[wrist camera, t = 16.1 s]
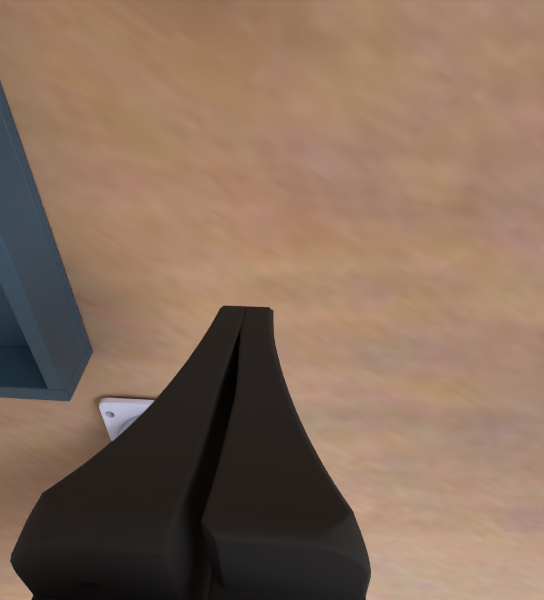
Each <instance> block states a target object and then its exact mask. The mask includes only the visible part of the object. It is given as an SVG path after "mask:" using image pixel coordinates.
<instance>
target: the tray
mask: <svg viewBox="0 0 544 600" xmlns="http://www.w3.org/2000/svg"><path fill="white" fill-rule="evenodd" d="M92 353H93V351H92V348H91V345H90V342H89V339H88V336H87V333H86V330H85V328H84V325H83V322H82V319H81V316H80V313H79V310H78V307H77V304H76V301H75V298H74V295H73V292H72V289H71V287H70V284H69V281H68V278H67V275H66V272H65V269H64V266H63V263H62V260H61V257H60V254H59V251H58V249H57V246H56V243H55V240H54V237H53V234H52V231H51V228H50V225H49V222H48V219H47V216H46V213H45V210H44V208H43V205H42V202H41V199H40V196H39V193H38V190H37V187H36V184H35V181H34V178H33V175H32V172H31V170H30V167H29V164H28V161H27V158H26V155H25V152H24V149H23V146H22V143H21V140H20V137H19V134H18V132H17V129H16V126H15V123H14V120H13V117H12V114H11V111H10V108H9V105H8V102H7V99H6V96H5V93H4V91H3V88H2V85H1V82H0V397H3V398H21V399H38V400H55V401H70V400H71V398H72V396H73V394H74V391H75V389H76V387H77V385H78V383H79V381H80V379H81V376H82V374H83V372H84V370H85V368H86V366H87V364H88V360H89V359H90V357H91V355H92Z"/></svg>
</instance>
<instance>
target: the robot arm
mask: <svg viewBox="0 0 544 600" xmlns="http://www.w3.org/2000/svg"><path fill="white" fill-rule="evenodd" d="M99 410H100V412H101V415H102V418H103V420H104V423H105V426H106V428H107V431H108V434H109V436H110V439H111V443H109V444H108V445H107V446H106V447H105V448H103V449H102V450H101V451H100V452H98V453H97V454H96V455H95V456H93V457H92V458H91V459H90V460H89V461H87V462H86V463H85V464H83V465H82V466H81V467H79V468H78V469H77V470H75V471H74V472H72V473H71V474H69V475H68V476H67V477H65V478H64V479H62V480H61V481H59V482H58V483H57V484H55V485H54V486H52V487H51V488H49V489H48V490H46V491H45V492H43V493H42V495H41V497H40V498H39V500H38V502H37V503H36V505H35V507H34V508H33V510H32V512H31V514H30V515H29V517H28V519H27V521H26V523H25V525H24V527H23V530H22V532H21V534H20V536H19V538H18V541H17V543H16V545H15V547H14V550H13V552H12V554H11V560H10V562H11V564H12V566H13V568H14V570H15V572H16V573H17V575H18V576H19V577H20V578H21V580H22V581H23V582H24V583H25V585H26V586H27V587H28V588H29V590H30V591H31V592H32V593H33V598H32V600H366V593H367V589H368V585H369V582H370V578H371V568H370V562H369V557H368V553H367V549H366V546H365V543H364V540H363V537H362V534H361V531H360V529H359V526H358V524H357V521H356V518H355V516H354V513H353V511H352V509H351V508H350V506H349V505H348V503H347V502H346V500H345V499H344V498H343V496H342V494H341V493H340V491H339V490H338V488H337V487H336V485H335V484H334V482H333V481H332V479H331V477H330V476H329V474H328V472H327V471H326V469H325V467H324V466H323V464H322V462H321V460H320V458H319V456H318V455H317V453H316V451H315V449H314V447H313V445H312V444H311V442H310V440H309V438H308V436H307V434H306V432H305V429H304V427H303V425H302V423H301V421H300V419H299V416H298V414H297V412H296V409H295V407H294V404H293V402H292V399H291V397H290V394H289V391H288V388H287V385H286V382H285V379H284V376H283V373H282V370H281V366H280V362H279V358H278V354H277V350H276V346H275V340H274V323H273V310H272V309H270V308H269V307H246V306H223V307H222V308H220V310H219V312H218V314H217V315H216V317H215V319H214V321H213V323H212V324H211V326H210V328H209V329H208V331H207V332H206V334H205V336H204V337H203V339H202V340H201V342H200V343H199V345H198V346H197V348H196V349H195V350H194V352H193V353H192V355H191V356H190V358H189V359H188V360H187V362H186V363H185V364H184V366H183V367H182V368H181V370H180V371H179V372H178V373H177V375H176V376H175V377H174V378H173V380H172V381H171V382H170V383H169V385H168V386H167V387H166V388H165V389H164V390H163V392H162V393H161V394H160V395H159V396H158V397H157V398H156V400H145V399H127V398H109V397H108V398H103V399H101V401H100V403H99Z"/></svg>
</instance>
